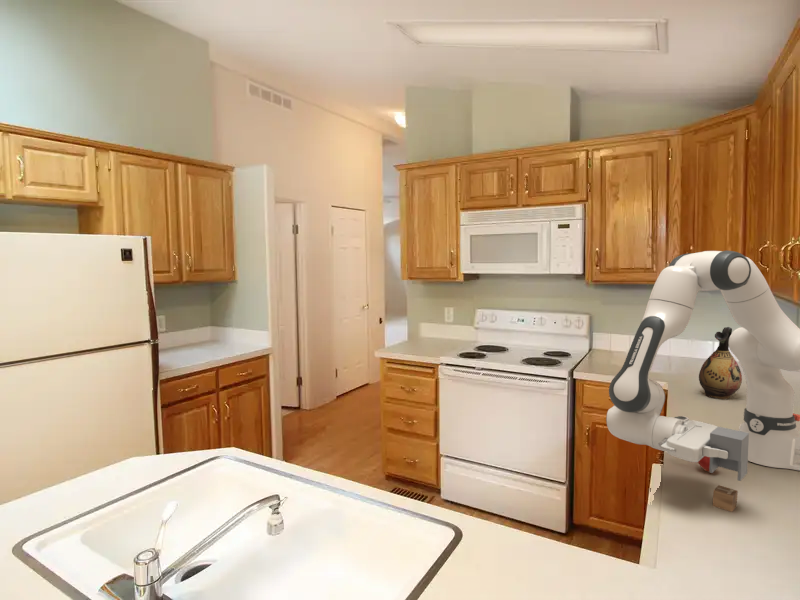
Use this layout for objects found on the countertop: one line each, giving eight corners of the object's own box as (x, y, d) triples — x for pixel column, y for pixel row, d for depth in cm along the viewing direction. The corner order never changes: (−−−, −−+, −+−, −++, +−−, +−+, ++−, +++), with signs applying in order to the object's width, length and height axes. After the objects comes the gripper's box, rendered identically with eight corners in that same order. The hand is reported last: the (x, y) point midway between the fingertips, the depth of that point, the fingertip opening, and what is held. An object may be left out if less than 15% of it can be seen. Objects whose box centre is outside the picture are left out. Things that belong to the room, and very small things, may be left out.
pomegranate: (697, 465, 141) (698, 438, 140) (721, 470, 138) (722, 443, 137) (694, 472, 137) (695, 444, 136) (718, 477, 133) (719, 449, 132)
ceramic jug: (734, 404, 198) (738, 331, 196) (692, 396, 210) (696, 327, 207) (746, 395, 210) (750, 327, 207) (705, 388, 221) (709, 323, 219)
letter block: (717, 500, 121) (718, 484, 121) (736, 506, 118) (737, 490, 118) (712, 506, 118) (713, 489, 118) (731, 512, 115) (732, 495, 115)
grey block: (716, 465, 122) (718, 426, 121) (747, 473, 117) (749, 433, 116) (708, 473, 118) (710, 433, 117) (739, 481, 113) (741, 440, 112)
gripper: (655, 433, 119) (720, 449, 109) (684, 414, 133) (744, 426, 123) (654, 458, 120) (719, 476, 110) (683, 436, 134) (743, 450, 123)
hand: (733, 450), depth 116 cm, fingers closed on grey block, 6 cm apart
